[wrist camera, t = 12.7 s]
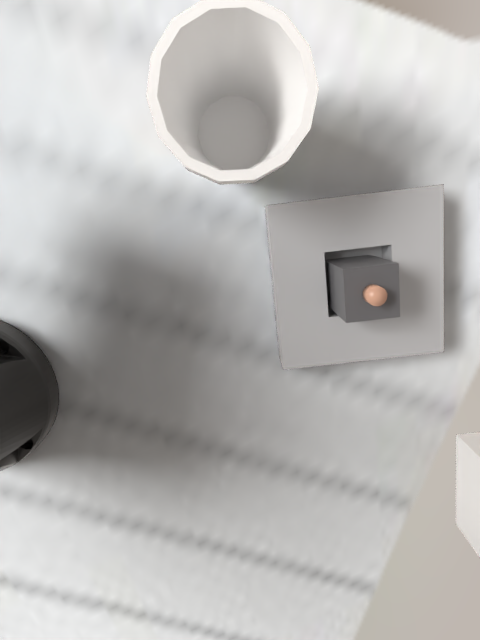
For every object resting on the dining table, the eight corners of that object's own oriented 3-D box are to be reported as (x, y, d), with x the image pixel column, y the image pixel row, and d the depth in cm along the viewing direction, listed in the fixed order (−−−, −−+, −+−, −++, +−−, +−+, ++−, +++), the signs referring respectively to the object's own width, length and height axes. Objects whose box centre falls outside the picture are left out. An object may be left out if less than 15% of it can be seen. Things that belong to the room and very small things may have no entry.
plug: (326, 304, 38) (350, 327, 30) (323, 259, 37) (347, 271, 29) (371, 299, 38) (406, 320, 30) (369, 254, 37) (405, 264, 29)
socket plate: (279, 357, 41) (283, 369, 37) (264, 206, 37) (267, 205, 34) (426, 340, 40) (443, 352, 37) (424, 187, 37) (443, 184, 34)
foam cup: (300, 177, 37) (333, 156, 24) (198, 207, 37) (178, 202, 25) (272, 59, 35) (293, -32, 22) (164, 92, 35) (123, 23, 23)
